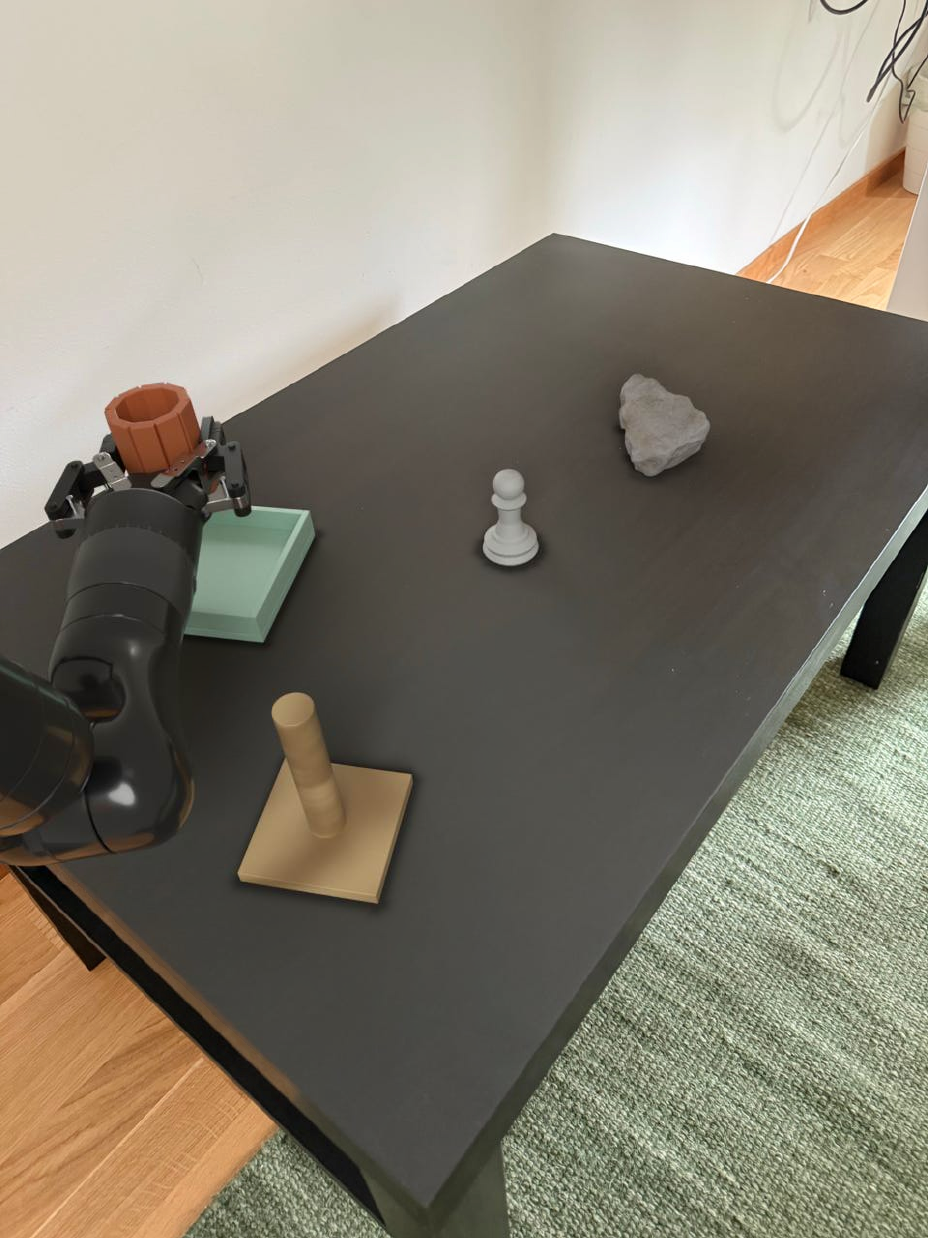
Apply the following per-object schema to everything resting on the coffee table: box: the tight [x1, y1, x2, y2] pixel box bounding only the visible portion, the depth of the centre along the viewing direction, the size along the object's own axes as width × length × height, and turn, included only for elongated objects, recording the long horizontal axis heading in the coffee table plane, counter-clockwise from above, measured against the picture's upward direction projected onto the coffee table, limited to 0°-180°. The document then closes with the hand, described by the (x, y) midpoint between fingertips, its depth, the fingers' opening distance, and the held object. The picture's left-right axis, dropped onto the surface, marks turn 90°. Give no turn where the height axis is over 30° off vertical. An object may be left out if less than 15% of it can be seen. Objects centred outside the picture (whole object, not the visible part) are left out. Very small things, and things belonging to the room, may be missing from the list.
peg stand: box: [237, 692, 414, 904], centre depth 56 cm, size 9×9×12 cm
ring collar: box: [103, 381, 219, 494], centre depth 70 cm, size 6×6×9 cm
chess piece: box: [482, 468, 540, 567], centre depth 76 cm, size 5×5×8 cm
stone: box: [618, 373, 711, 477], centre depth 86 cm, size 10×8×6 cm
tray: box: [184, 505, 316, 643], centre depth 78 cm, size 15×13×3 cm
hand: (166, 431), depth 71 cm, fingers closed on ring collar, 6 cm apart
